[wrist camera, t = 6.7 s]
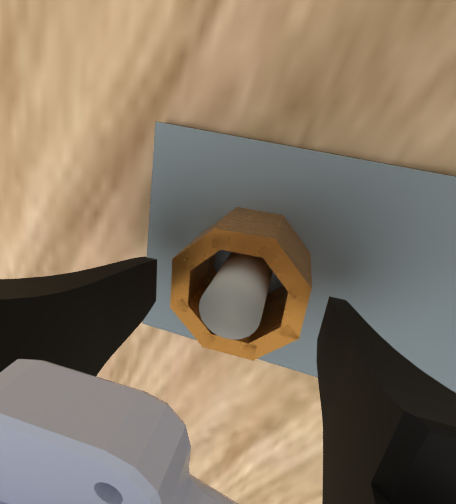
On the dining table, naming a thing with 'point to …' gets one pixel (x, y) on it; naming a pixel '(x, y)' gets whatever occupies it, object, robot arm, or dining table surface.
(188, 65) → the dining table surface
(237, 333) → the stand
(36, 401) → the robot arm
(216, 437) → the dining table surface
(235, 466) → the dining table surface
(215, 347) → the collar ring
